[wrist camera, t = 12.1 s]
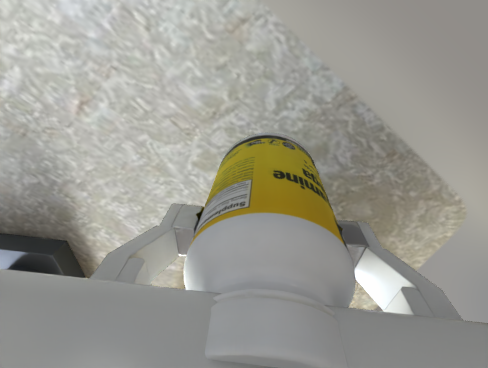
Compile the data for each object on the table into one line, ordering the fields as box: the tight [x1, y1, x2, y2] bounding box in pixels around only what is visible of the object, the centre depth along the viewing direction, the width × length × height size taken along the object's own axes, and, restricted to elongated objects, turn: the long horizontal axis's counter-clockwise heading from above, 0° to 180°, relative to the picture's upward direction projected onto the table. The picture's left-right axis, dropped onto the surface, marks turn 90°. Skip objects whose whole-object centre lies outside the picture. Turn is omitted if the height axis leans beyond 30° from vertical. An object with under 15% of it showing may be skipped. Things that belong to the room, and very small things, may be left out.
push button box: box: [0, 234, 86, 278], centre depth 29 cm, size 12×10×4 cm
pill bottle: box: [184, 132, 355, 368], centre depth 10 cm, size 6×6×11 cm
